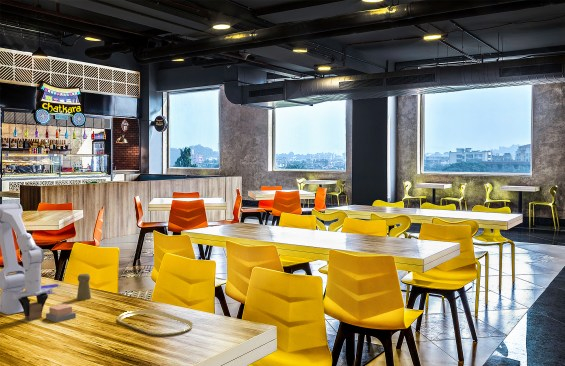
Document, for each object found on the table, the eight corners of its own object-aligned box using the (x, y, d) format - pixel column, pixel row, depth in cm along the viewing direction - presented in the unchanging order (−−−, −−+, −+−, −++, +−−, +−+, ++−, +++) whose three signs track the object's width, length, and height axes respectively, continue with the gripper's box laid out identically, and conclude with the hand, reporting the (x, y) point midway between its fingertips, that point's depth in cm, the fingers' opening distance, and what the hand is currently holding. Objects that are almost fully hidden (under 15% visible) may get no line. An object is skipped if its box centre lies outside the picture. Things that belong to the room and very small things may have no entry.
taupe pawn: (86, 300, 237) (86, 275, 237) (73, 299, 238) (73, 275, 238) (93, 297, 243) (93, 273, 243) (81, 296, 244) (81, 272, 244)
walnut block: (24, 318, 210) (24, 304, 210) (36, 315, 213) (36, 302, 213) (30, 320, 207) (30, 306, 207) (41, 317, 210) (41, 304, 210)
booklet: (46, 299, 240) (46, 297, 240) (30, 288, 259) (30, 287, 259) (74, 295, 248) (74, 293, 248) (56, 285, 267) (56, 283, 267)
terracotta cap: (49, 313, 210) (49, 307, 210) (63, 310, 215) (63, 304, 214) (57, 316, 206) (57, 309, 206) (71, 312, 211) (71, 306, 211)
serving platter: (149, 311, 223) (149, 307, 223) (203, 329, 200) (203, 325, 200) (108, 320, 209) (108, 316, 209) (160, 341, 186) (160, 336, 186)
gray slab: (45, 319, 210) (45, 313, 210) (65, 315, 216) (65, 309, 216) (56, 323, 205) (56, 317, 205) (75, 319, 211) (75, 312, 211)
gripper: (18, 284, 201) (19, 320, 202) (56, 278, 213) (56, 312, 213) (10, 281, 206) (10, 316, 207) (47, 275, 217) (47, 309, 218)
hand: (33, 314), depth 210 cm, fingers closed on walnut block, 4 cm apart
